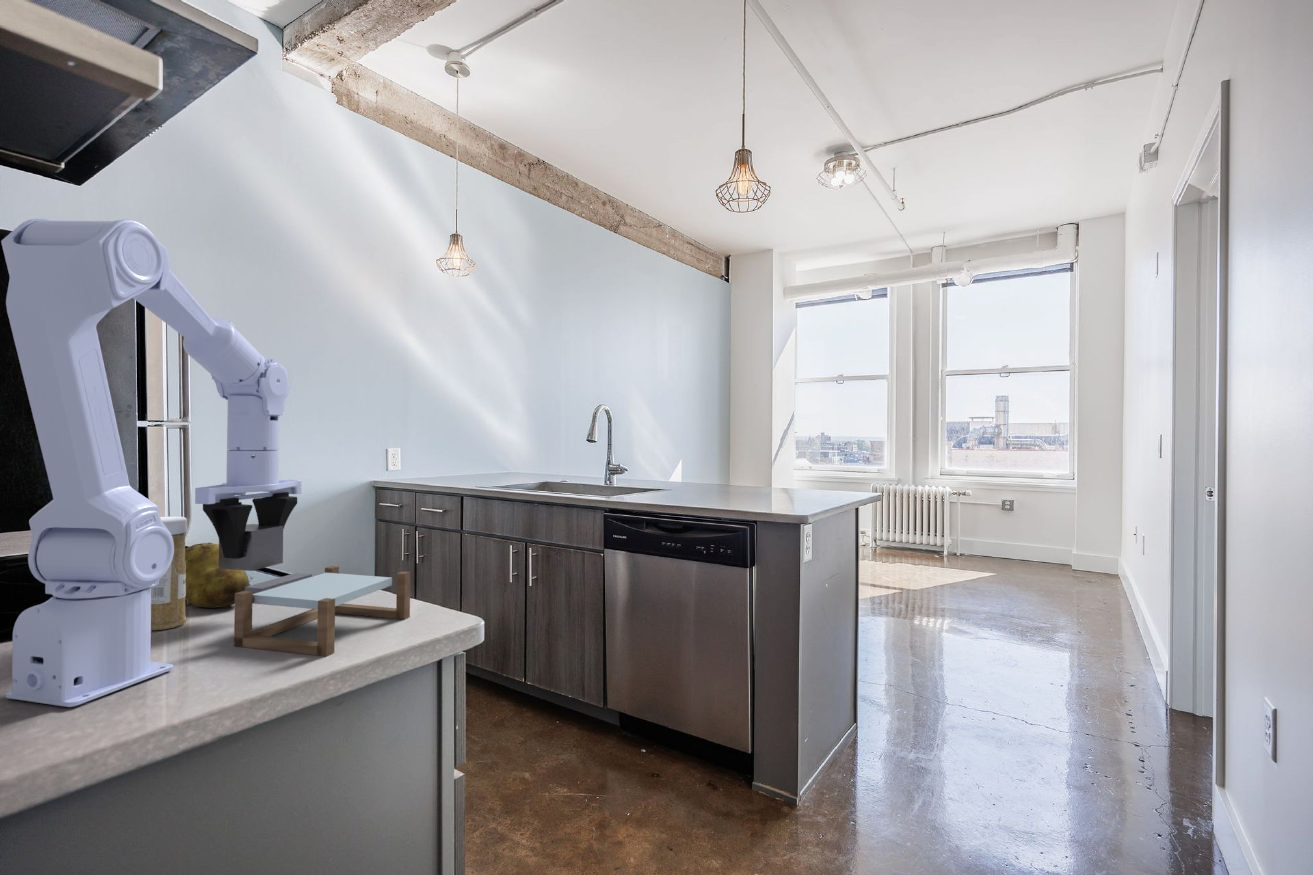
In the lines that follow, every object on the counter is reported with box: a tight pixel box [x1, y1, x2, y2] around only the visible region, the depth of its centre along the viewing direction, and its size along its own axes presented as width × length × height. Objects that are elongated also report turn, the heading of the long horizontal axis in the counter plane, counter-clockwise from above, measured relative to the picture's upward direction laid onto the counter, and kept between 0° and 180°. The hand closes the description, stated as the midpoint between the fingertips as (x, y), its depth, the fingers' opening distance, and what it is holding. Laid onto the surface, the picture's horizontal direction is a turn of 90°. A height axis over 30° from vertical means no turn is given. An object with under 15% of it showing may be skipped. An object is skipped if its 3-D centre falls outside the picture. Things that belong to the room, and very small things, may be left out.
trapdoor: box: [245, 572, 393, 610], centre depth 78 cm, size 12×13×1 cm
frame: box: [233, 565, 411, 657], centre depth 78 cm, size 15×12×6 cm
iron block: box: [218, 523, 284, 572], centre depth 83 cm, size 5×5×5 cm
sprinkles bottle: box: [151, 515, 188, 632], centre depth 78 cm, size 5×5×14 cm
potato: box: [185, 542, 251, 609], centre depth 89 cm, size 8×13×8 cm, turn 40°
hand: (251, 553), depth 83 cm, fingers closed on iron block, 5 cm apart
